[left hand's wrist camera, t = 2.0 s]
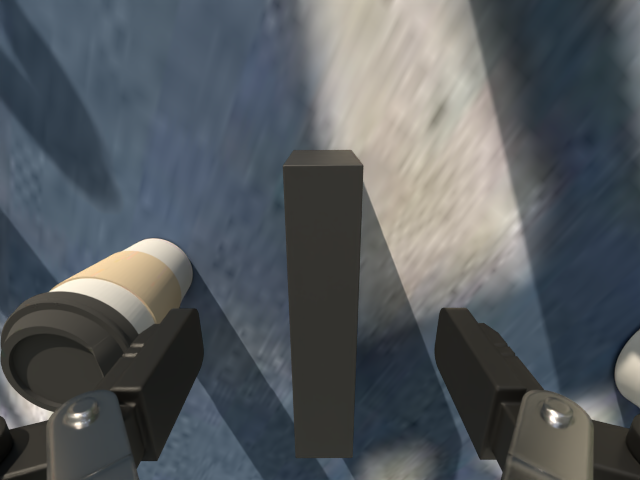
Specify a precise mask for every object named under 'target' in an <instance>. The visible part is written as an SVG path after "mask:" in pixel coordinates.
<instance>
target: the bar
mask: <svg viewBox="0 0 640 480" xmlns="http://www.w3.org/2000/svg"><path fill="white" fill-rule="evenodd" d="M283 180H284V203H285V225H286V248H287V271H288V293H289V316H290V339H291V361H292V384H293V407H294V430H295V452H296V458H352V457H353V430H354V403H355V376H356V349H357V323H358V296H359V269H360V242H361V215H362V189H363V164H362V163H361V162H360V160H359V159H358V158H357V157H356V155H355V154H354V153H353V152H352V150H294V151H293V152H292V153H291V155H290V156H289V158H288V159H287V161H286V162H285V164H284V165H283Z"/></svg>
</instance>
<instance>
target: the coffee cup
mask: <svg viewBox="0 0 640 480" xmlns="http://www.w3.org/2000/svg"><path fill="white" fill-rule="evenodd" d="M192 278H193V270H192V266H191V263H190V261H189V259H188V257H187V256H186V254H185V253H184V252H183V251H182V250H181V249H180V248H179V247H177V246H176V245H174V244H173V243H171V242H168V241H166V240H162V239H146V240H142V241H140V242H138V243H136V244H135V245H133V246H131V247H129V248H127V249H125V250H124V251H122V252H118V253H115V254H113V255H111V256H109V257H107V258H106V259H104V260H102V261H100V262H98V263H96V264H94V265H93V266H91V267H89V268H87V269H85V270H83V271H82V272H80V273H78V274H76V275H74V276H72V277H70V278H69V279H67V280H65V281H63V282H61V283H59V284H58V285H56V286H55V287H54V288H53V289H51V291H50V292H47V293H42V294H39V295H36V296H34V297H31V298H29V299H28V300H26V301H25V302H23V303H22V304H21V305H20V306H19V307H18V308H17V309H16V310H15V312H13V313H12V314H11V315H10V317H9V318H8V319H7V321H6V323H5V325H4V327H3V330H2V334H1V366H2V369H3V372H4V374H5V376H6V378H7V380H8V382H9V383H10V384H11V386H12V387H13V388H14V389H15V390H16V391H17V392H18V393H19V394H20V395H21V396H22V397H24V398H25V399H26V400H28V401H29V402H31V403H33V404H35V405H37V406H39V407H41V408H43V409H46V410H49V411H53V412H55V411H56V410H57V409H58V408H59V407H60V406H61V405H62V404H64V403H65V402H67V401H68V400H70V399H72V398H74V397H75V396H78V395H80V394H83V393H86V392H89V391H93V390H94V389H95V388H96V386H97V385H98V384H99V383H100V382H101V380H102V379H103V378H104V377H105V375H106V374H107V373H108V372H109V371H110V369H111V368H112V367H113V366H114V364H115V363H116V362H117V361H118V359H119V358H120V357H122V355H123V353H124V352H125V351H126V350H127V348H128V347H130V345H131V344H132V342H133V341H134V340H135V339H136V337H137V336H138V335H139V334H140V333H141V332H143V331H144V330H146V329H147V328H149V327H150V326H152V325H153V324H160V323H161V321H162V320H163V319H164V318H165V316H166V315H167V314H168V312H169V311H170V310H171V309H173V308H179V307H180V304H181V301H182V300H183V298H184V296H185V294H186V292H187V291H188V289H189V287H190V285H191V283H192Z"/></svg>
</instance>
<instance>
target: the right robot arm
mask: <svg viewBox="0 0 640 480" xmlns="http://www.w3.org/2000/svg"><path fill="white" fill-rule="evenodd" d="M615 382H616V385H617V388H618V390H619V391H620V393H621V394H622V395H623V396H624V397H625V398H626V399H628V400H629V401H631V402H632V403H634V404H635V405H636V406H638V407H639V408H640V329H639V330H638V331H637V332H636V333H635V334H634V335H633V336H632V337H631V338H630V340H629V341H628V342H627V343H626V345H625V346H624V348H623V349H622V351H621V353H620V355H619V357H618V359H617V362H616V366H615Z"/></svg>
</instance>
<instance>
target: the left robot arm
mask: <svg viewBox="0 0 640 480" xmlns="http://www.w3.org/2000/svg"><path fill="white" fill-rule="evenodd" d="M203 355H204V348H203V340H202V333H201V326H200V320H199V313H198V311H197V309H195V308H173V309H171V310H170V311H169V312H168V314H167V315H166V316H165V318H164V319H163V320H162V321H161V323H160V324H153V325H152V326H150V327H149V328H147V329H146V330H144V331H143V332H141V333H140V334H139V335H138V336H137V337H136V339H135V340H134V341H133V342H132V344H131V345H130V347H128V348H127V350H126V351H125V352H124V353H123V355H122V357H120V358H119V359H118V361H117V362H116V363H115V364H114V366H113V367H112V368H111V369H110V371H109V372H108V373H107V374H106V375H105V377H104V378H103V379H102V380H101V382H100V383H99V384H98V385H97V386H96V388H95V389H94V390H93V391H89V392H86V393H83V394H80V395H78V396H75V397H74V398H72V399H70V400H68V401H67V402H65V403H64V404H62V405H61V406H60V407H59V408H58V409H57V410H56V411H55V412H54V413H53V414H52V415H51V417H50V418H49V420H47V421H43V422H39V423H35V424H31V425H27V426H23V427H18V428H14V429H10V430H9V428H8V426H7V424H6V421H5V419H4V418H3V417H1V416H0V480H139V477H138V473H137V470H136V469H137V467H138V465H139V463H140V461H157V460H158V458H159V456H160V454H161V452H162V450H163V448H164V445H165V443H166V441H167V439H168V437H169V435H170V433H171V430H172V428H173V426H174V424H175V422H176V420H177V418H178V415H179V413H180V411H181V409H182V407H183V405H184V403H185V400H186V398H187V396H188V394H189V392H190V390H191V388H192V385H193V383H194V381H195V379H196V377H197V375H198V373H199V370H200V368H201V365H202V362H203ZM435 360H436V364H437V367H438V369H439V371H440V374H441V376H442V378H443V380H444V382H445V384H446V387H447V389H448V391H449V393H450V395H451V397H452V400H453V402H454V404H455V406H456V408H457V410H458V413H459V415H460V417H461V419H462V421H463V423H464V426H465V428H466V430H467V432H468V434H469V436H470V439H471V441H472V443H473V445H474V447H475V449H476V452H477V454H478V456H479V458H480V460H497V462H498V464H499V466H500V468H501V470H502V471H503V473H502V477H501V480H640V414H639V415H637V416H635V418H634V419H633V422H632V424H631V426H630V429H628V428H624V427H620V426H616V425H612V424H607V423H603V422H599V421H595V420H591V418H590V417H589V415H588V414H587V413H586V412H585V411H584V410H583V409H582V408H581V407H580V406H579V405H578V404H576V403H575V402H573V401H572V400H570V399H568V398H566V397H565V396H562V395H560V394H557V393H554V392H551V391H546V390H544V389H543V388H542V386H541V385H540V384H539V383H538V382H537V380H536V379H535V378H534V377H533V375H532V374H531V373H530V372H529V370H528V369H527V368H526V367H525V365H524V364H523V363H522V362H521V360H520V359H519V358H518V357H517V356H515V353H514V352H513V351H512V349H511V348H510V347H508V346H507V343H506V342H505V341H504V339H503V338H502V337H501V336H500V334H499V333H498V332H496V331H495V330H493V329H492V328H490V327H489V326H487V325H486V324H484V323H478V322H477V321H476V320H475V318H474V317H473V316H472V314H471V313H470V312H469V310H468V309H467V308H442V309H441V310H440V314H439V320H438V327H437V334H436V341H435Z"/></svg>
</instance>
